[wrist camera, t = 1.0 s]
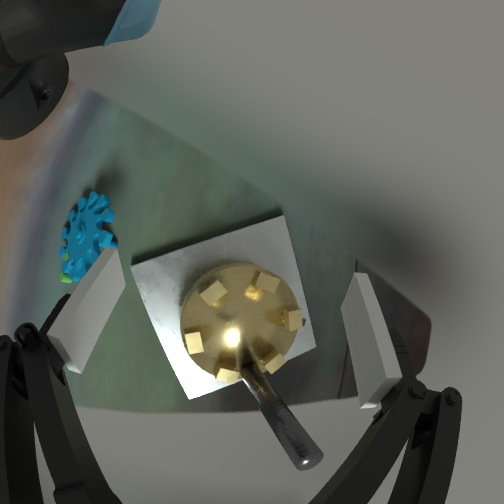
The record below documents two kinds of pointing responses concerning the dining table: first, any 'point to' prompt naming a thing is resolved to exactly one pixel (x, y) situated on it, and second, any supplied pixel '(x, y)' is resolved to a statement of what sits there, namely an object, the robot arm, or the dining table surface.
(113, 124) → the dining table surface
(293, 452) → the gold toothed rod mount
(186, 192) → the dining table surface
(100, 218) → the gear
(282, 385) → the dining table surface
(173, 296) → the white square base plate
